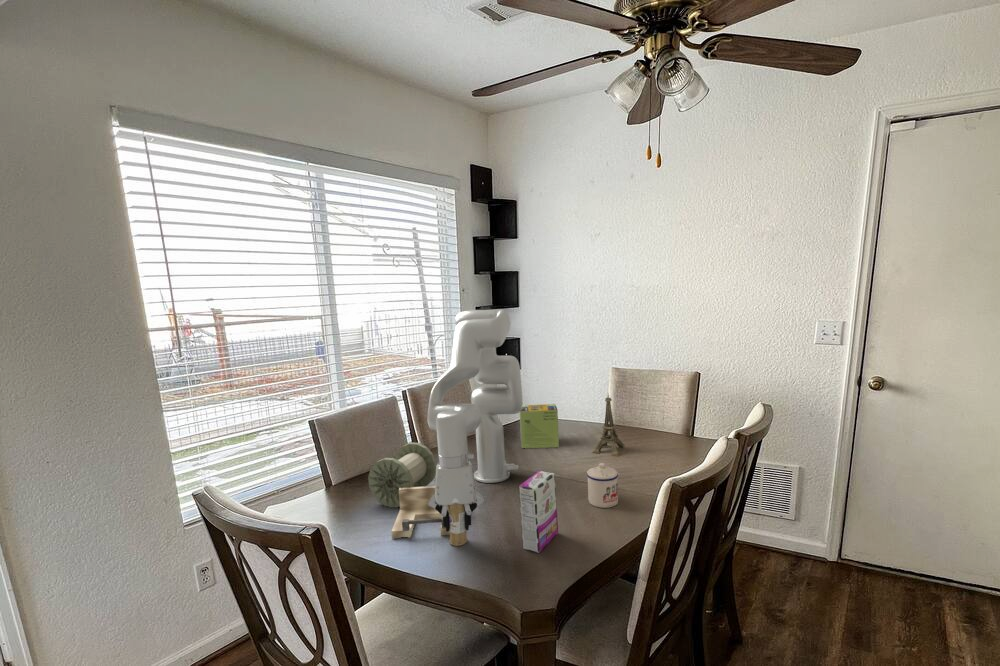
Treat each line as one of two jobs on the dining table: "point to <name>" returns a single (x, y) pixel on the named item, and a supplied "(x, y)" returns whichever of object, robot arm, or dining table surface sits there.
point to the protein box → (539, 426)
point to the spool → (402, 473)
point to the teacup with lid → (602, 486)
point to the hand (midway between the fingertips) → (457, 527)
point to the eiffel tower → (613, 436)
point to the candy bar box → (538, 511)
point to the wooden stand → (416, 511)
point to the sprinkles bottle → (457, 523)
